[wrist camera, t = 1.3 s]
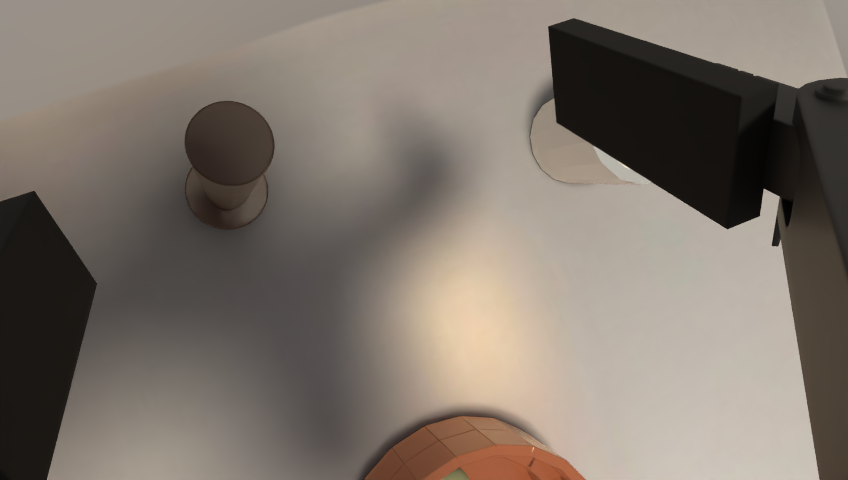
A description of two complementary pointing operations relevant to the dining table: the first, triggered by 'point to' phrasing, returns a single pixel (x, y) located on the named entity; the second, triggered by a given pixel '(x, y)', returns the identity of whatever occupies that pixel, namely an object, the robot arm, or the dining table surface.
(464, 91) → the dining table surface
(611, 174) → the white cup
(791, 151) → the robot arm
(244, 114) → the stick
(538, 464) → the bowl
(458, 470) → the bead
